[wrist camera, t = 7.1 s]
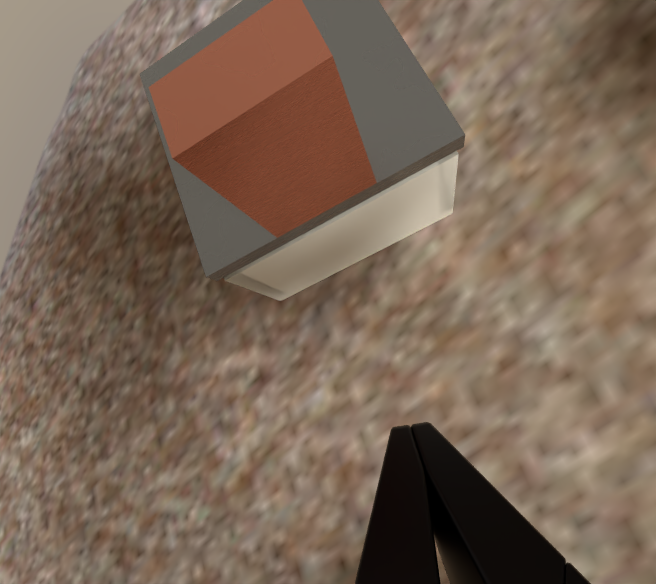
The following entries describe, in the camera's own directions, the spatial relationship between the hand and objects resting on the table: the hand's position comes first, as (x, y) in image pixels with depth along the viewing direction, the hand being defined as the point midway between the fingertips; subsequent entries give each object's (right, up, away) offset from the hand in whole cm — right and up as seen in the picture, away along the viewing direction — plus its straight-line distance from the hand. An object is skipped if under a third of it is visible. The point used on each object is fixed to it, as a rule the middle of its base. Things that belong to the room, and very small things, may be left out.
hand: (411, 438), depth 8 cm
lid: (-4, +12, +8) cm, 15 cm away
